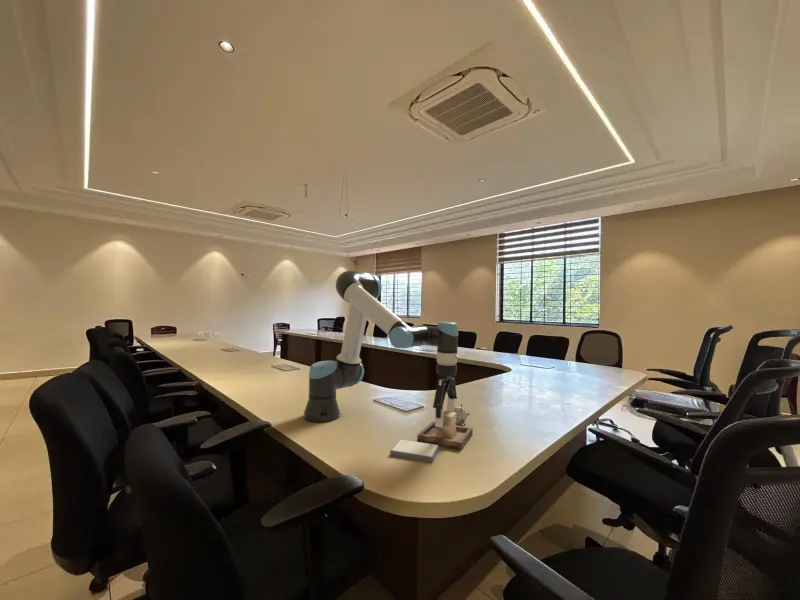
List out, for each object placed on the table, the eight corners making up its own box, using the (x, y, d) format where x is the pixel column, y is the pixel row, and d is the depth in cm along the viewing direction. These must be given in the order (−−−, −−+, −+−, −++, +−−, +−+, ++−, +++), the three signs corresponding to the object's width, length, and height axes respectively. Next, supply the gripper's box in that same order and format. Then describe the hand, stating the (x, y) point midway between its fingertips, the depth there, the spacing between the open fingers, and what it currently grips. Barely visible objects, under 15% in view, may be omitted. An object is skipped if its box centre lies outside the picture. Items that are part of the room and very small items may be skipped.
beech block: (435, 436, 122) (435, 414, 123) (440, 431, 128) (441, 410, 128) (451, 439, 120) (451, 417, 120) (456, 434, 125) (456, 412, 125)
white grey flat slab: (390, 455, 108) (390, 450, 108) (399, 443, 118) (399, 438, 118) (432, 462, 104) (432, 456, 104) (438, 449, 113) (439, 444, 113)
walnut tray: (417, 441, 120) (417, 434, 120) (432, 427, 134) (433, 421, 134) (461, 450, 113) (461, 442, 113) (472, 434, 127) (472, 428, 127)
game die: (461, 435, 137) (469, 420, 131) (442, 426, 138) (449, 411, 133) (466, 419, 144) (473, 404, 138) (447, 410, 145) (454, 395, 140)
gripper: (446, 370, 112) (443, 434, 111) (465, 360, 134) (463, 413, 134) (425, 367, 115) (422, 429, 115) (447, 358, 137) (445, 410, 137)
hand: (444, 421), depth 124 cm, fingers open, 13 cm apart
